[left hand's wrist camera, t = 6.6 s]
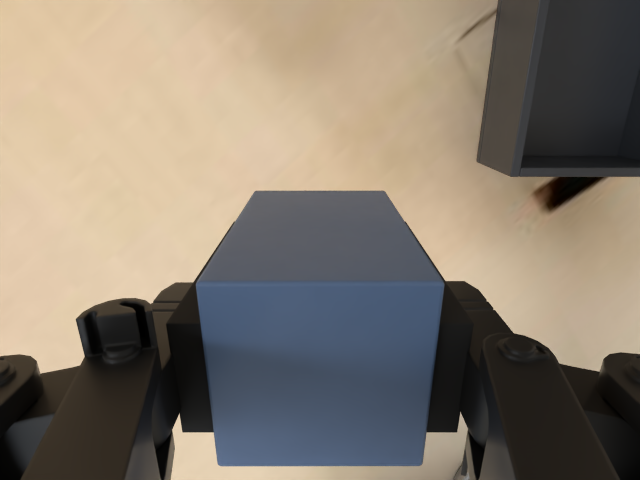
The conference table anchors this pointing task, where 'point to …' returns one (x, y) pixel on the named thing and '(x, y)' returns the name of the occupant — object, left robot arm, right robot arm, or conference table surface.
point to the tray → (563, 89)
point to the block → (320, 333)
